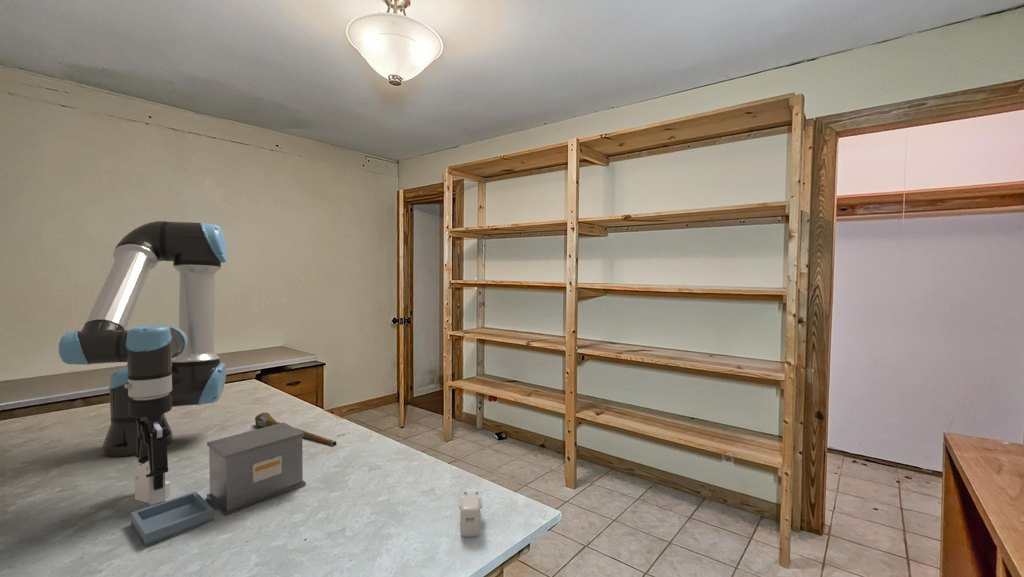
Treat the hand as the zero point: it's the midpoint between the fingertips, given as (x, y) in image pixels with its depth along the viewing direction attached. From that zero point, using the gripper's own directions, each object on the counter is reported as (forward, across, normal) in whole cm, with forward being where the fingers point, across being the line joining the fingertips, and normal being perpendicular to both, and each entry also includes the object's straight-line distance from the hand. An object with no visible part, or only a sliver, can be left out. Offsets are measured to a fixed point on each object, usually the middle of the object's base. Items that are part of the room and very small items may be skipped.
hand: (152, 496), depth 98 cm
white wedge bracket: (+1, 0, 0) cm, 1 cm away
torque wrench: (+1, -13, +38) cm, 40 cm away
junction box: (0, +15, +16) cm, 22 cm away
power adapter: (+1, +61, +39) cm, 72 cm away
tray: (0, +15, 0) cm, 15 cm away
